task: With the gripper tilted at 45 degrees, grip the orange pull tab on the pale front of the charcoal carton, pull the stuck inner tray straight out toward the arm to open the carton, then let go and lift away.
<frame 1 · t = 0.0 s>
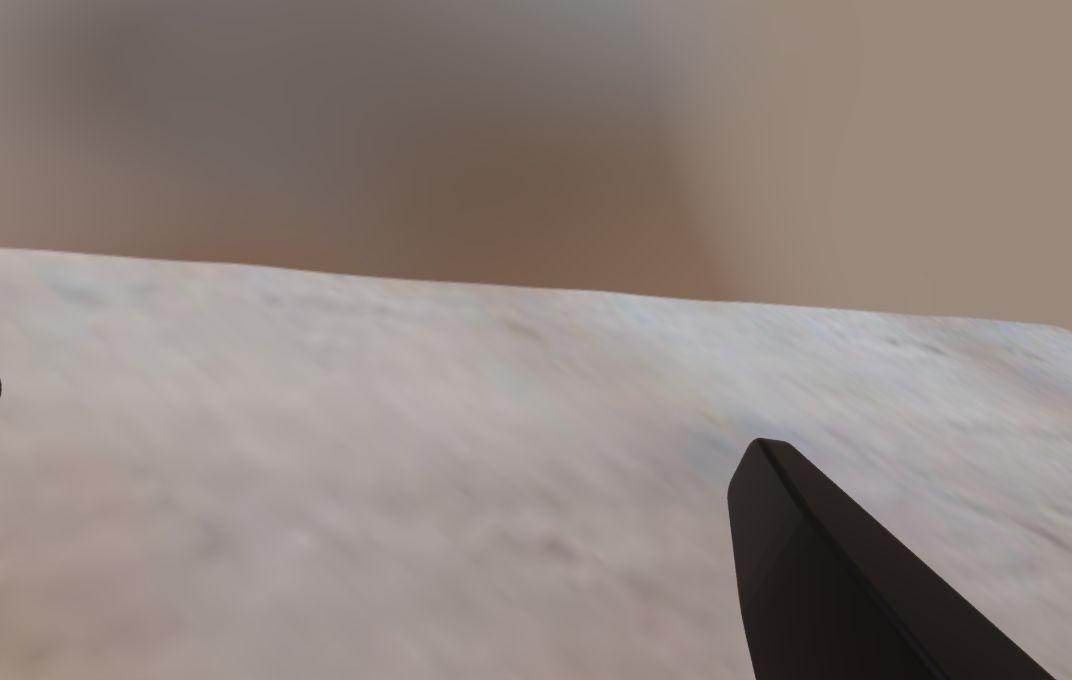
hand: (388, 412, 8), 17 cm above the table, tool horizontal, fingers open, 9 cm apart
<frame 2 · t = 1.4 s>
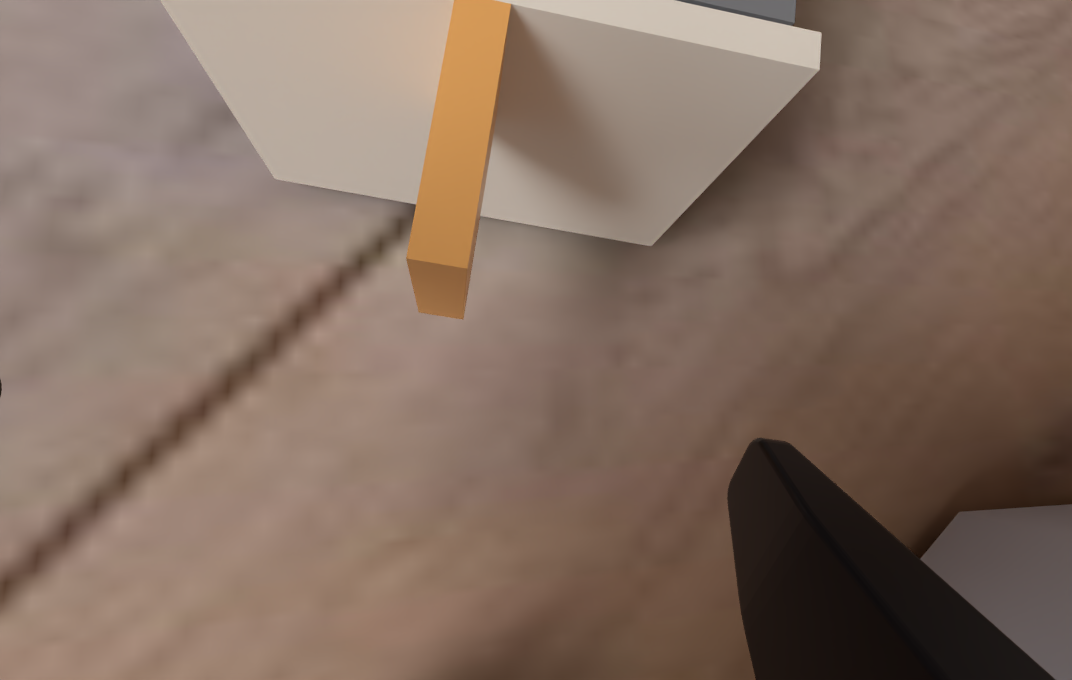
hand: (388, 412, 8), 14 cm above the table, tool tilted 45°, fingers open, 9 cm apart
tray: (492, 28, 17), point 6 cm above the table, slide at 0.0 cm
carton: (498, 44, 24), on the table
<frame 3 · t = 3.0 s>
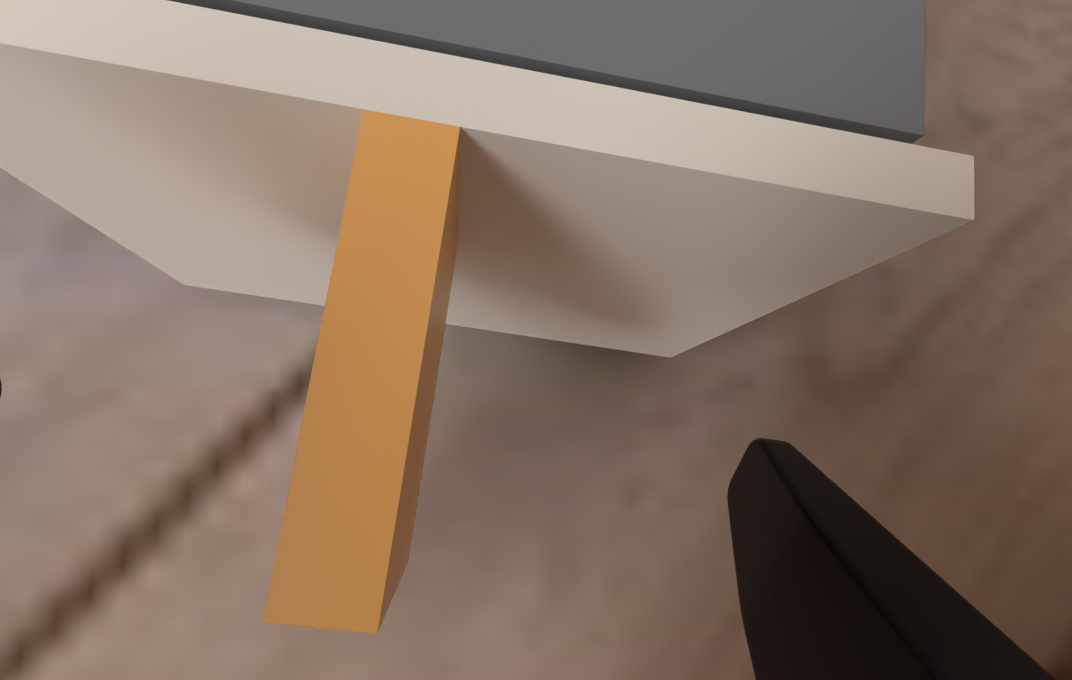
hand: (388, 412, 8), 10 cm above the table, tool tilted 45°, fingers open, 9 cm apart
tray: (456, 104, 12), point 6 cm above the table, slide at 0.0 cm
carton: (474, 97, 19), on the table
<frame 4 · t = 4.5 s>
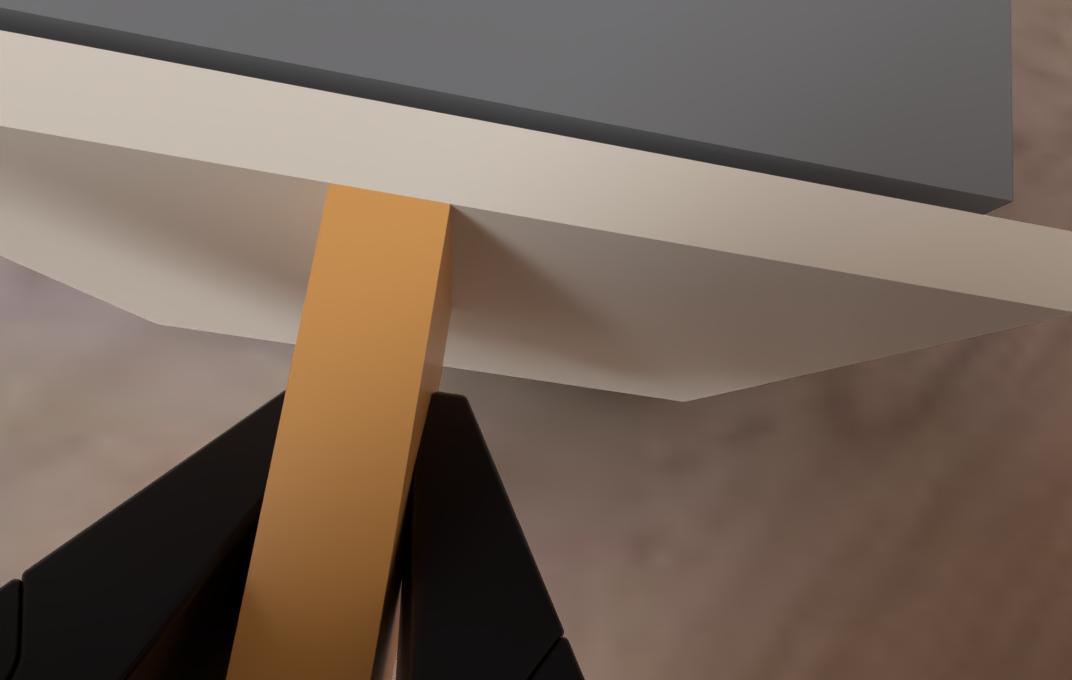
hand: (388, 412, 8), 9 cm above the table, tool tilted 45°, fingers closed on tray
tray: (452, 137, 11), point 6 cm above the table, slide at 0.0 cm, touching gripper
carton: (474, 116, 18), on the table
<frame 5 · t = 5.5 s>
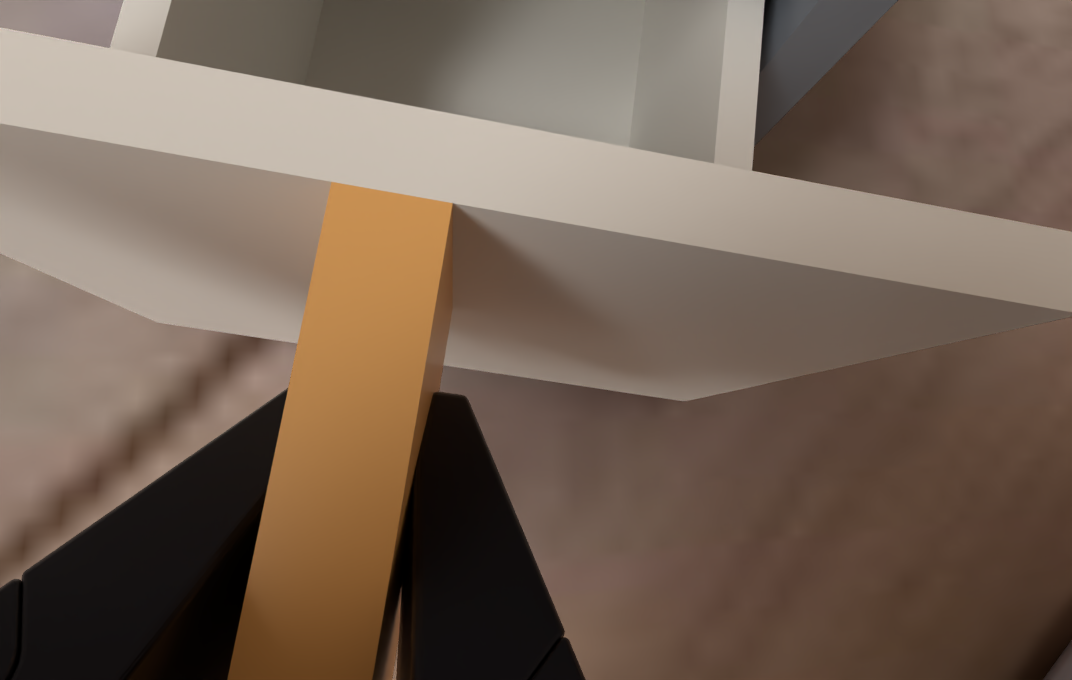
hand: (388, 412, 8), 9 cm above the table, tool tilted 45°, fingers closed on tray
tray: (453, 136, 11), point 6 cm above the table, slide at 3.8 cm, touching gripper
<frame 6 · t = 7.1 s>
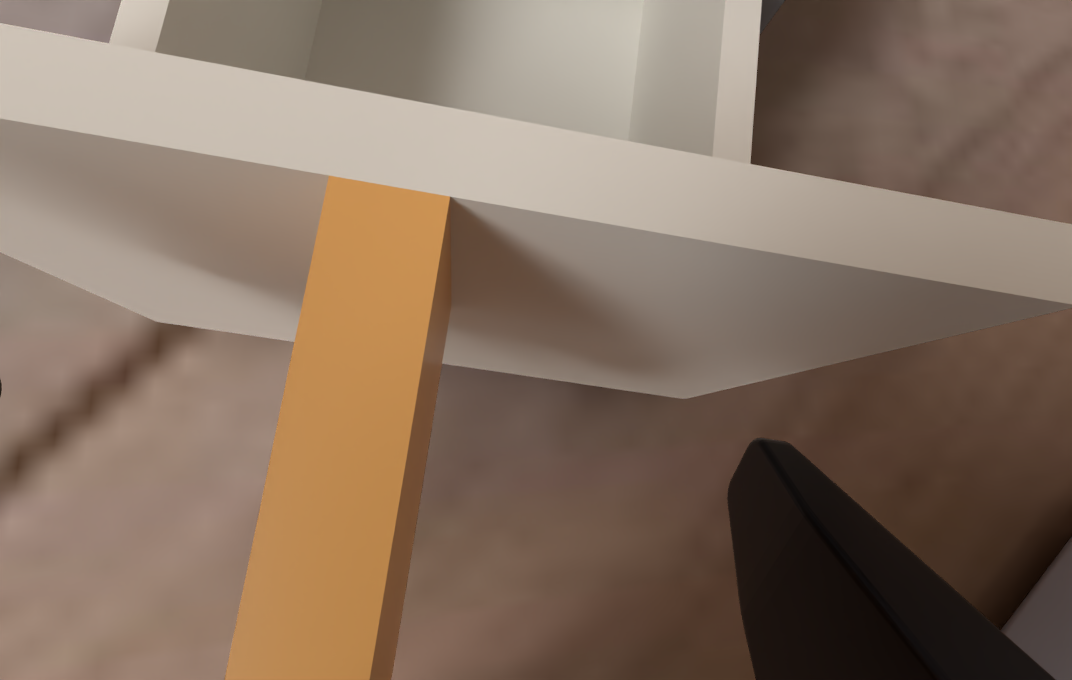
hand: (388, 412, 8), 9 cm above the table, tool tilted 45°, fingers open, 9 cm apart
tray: (452, 134, 11), point 6 cm above the table, slide at 6.4 cm
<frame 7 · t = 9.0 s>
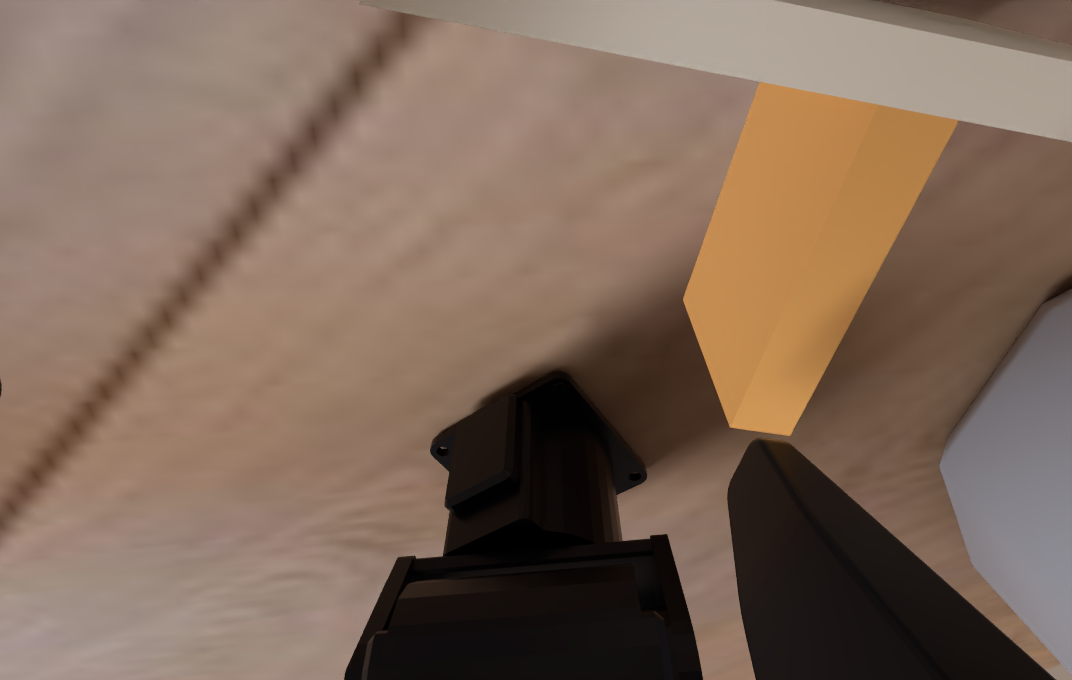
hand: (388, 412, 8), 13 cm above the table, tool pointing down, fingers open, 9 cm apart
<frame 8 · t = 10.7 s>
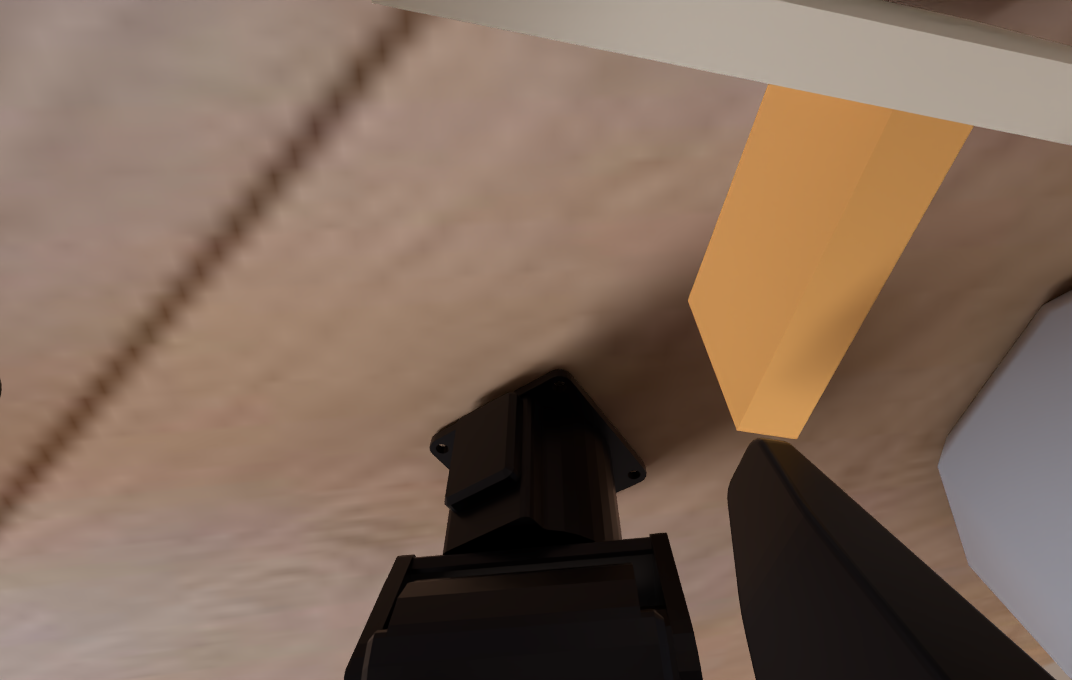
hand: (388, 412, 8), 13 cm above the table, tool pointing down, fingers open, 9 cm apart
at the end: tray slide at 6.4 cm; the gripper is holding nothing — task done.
